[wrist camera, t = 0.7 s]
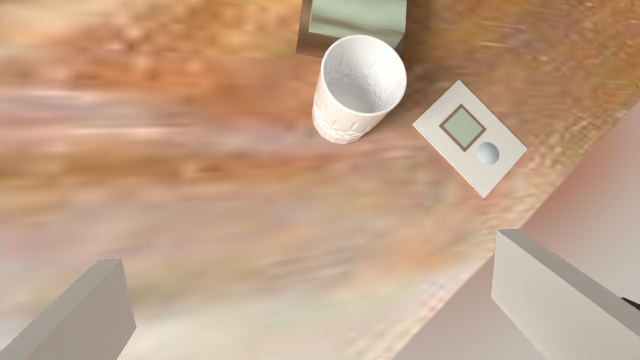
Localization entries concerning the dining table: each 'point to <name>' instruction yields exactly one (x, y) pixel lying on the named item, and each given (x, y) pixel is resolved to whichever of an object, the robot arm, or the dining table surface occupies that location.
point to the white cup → (356, 87)
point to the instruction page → (470, 138)
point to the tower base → (350, 23)
